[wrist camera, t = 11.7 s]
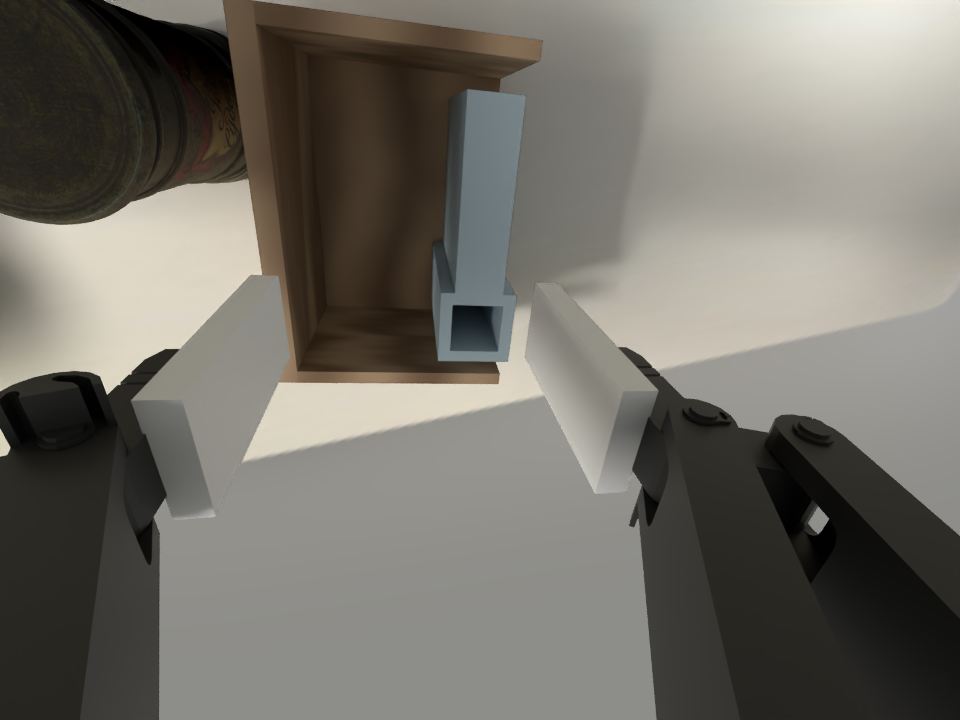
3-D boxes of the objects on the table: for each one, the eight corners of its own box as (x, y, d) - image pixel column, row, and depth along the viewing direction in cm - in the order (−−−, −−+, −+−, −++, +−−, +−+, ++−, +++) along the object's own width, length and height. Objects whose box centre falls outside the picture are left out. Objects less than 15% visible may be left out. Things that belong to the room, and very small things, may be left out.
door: (430, 293, 38) (437, 360, 27) (437, 97, 31) (450, 87, 20) (484, 295, 38) (511, 361, 28) (502, 104, 32) (546, 97, 21)
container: (201, 200, 33) (7, 275, 17) (105, 65, 28) (-272, 0, 13) (308, 148, 32) (210, 177, 16) (227, 2, 28) (-12, -148, 12)
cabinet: (314, 309, 38) (278, 382, 27) (290, 40, 29) (222, -4, 19) (475, 314, 40) (498, 384, 30) (499, 66, 31) (542, 40, 21)
